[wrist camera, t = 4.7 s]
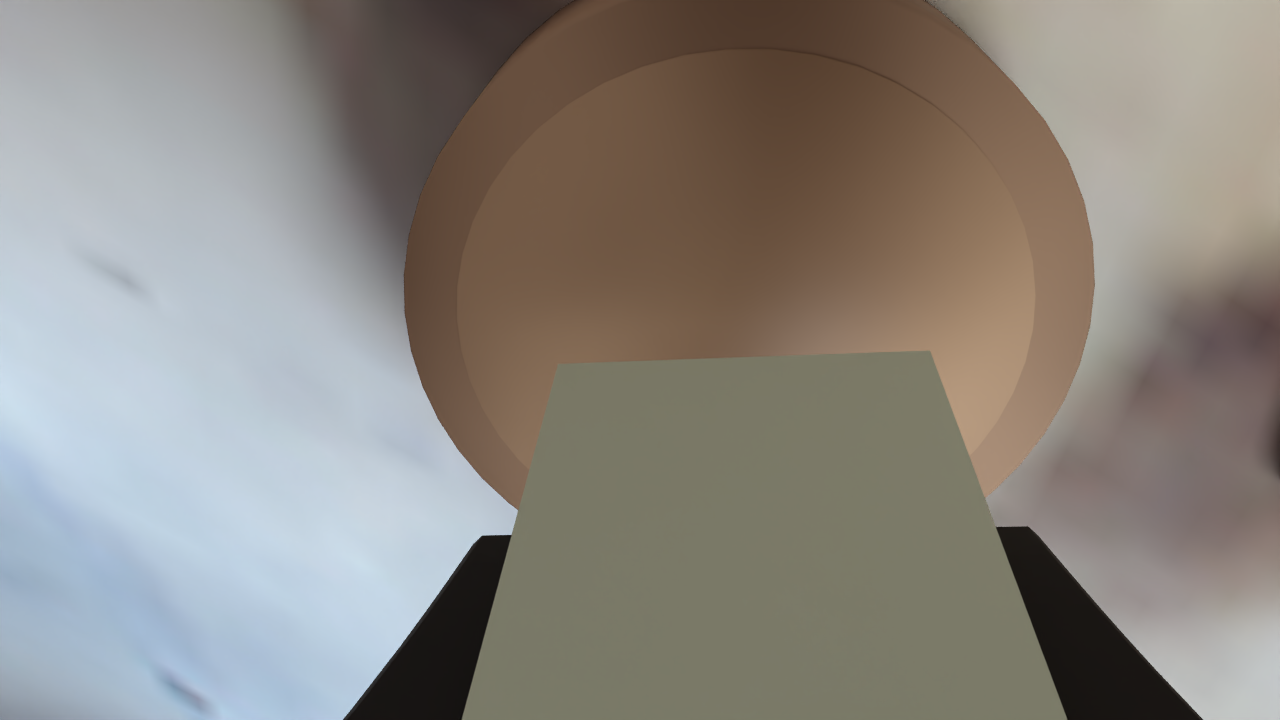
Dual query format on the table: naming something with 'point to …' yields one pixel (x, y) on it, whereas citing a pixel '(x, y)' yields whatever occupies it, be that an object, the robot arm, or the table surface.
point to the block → (756, 552)
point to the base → (747, 216)
